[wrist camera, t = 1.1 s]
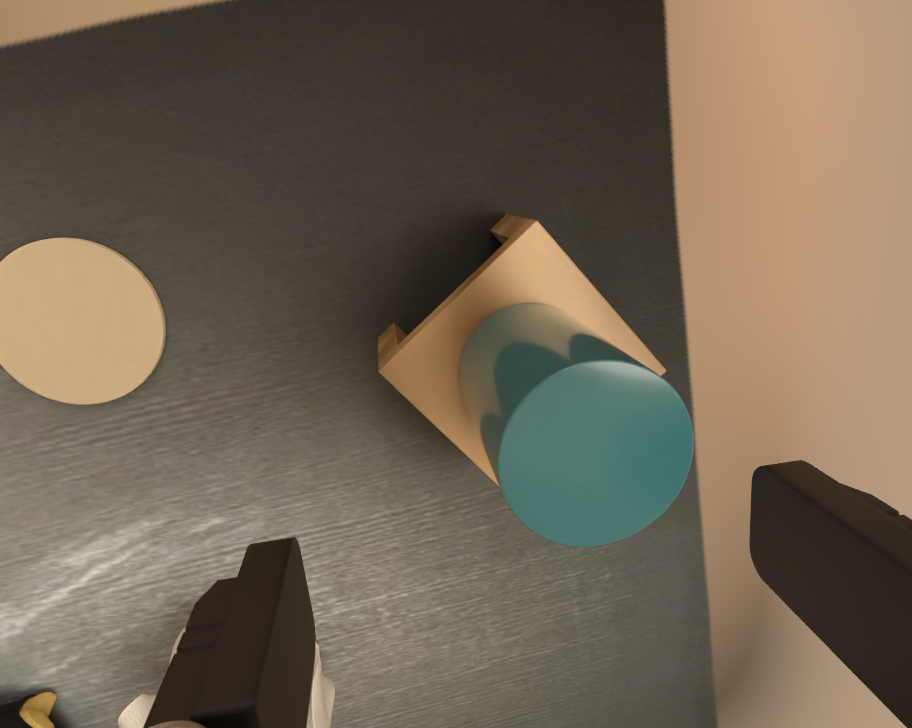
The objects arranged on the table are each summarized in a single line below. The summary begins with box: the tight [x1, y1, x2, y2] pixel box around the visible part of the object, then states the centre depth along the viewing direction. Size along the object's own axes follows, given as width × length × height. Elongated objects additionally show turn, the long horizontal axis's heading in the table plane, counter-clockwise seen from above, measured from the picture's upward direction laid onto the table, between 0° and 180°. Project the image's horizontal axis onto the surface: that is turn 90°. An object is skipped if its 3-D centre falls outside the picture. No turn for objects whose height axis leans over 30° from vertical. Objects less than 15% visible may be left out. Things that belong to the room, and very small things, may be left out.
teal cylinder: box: [458, 303, 693, 547], centre depth 23 cm, size 6×6×9 cm
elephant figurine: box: [118, 626, 335, 728], centre depth 32 cm, size 10×12×9 cm
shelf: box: [378, 214, 666, 486], centre depth 30 cm, size 9×9×6 cm
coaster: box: [0, 237, 166, 405], centre depth 30 cm, size 8×8×1 cm
